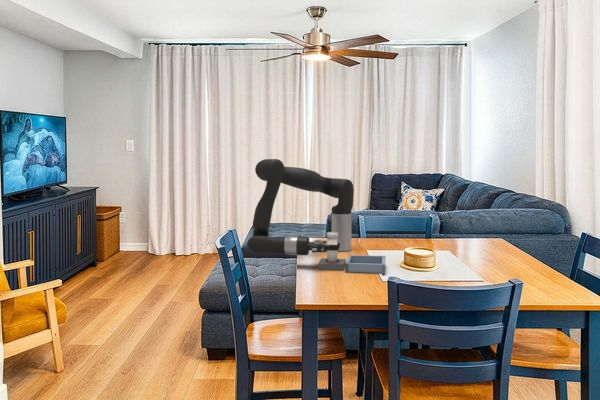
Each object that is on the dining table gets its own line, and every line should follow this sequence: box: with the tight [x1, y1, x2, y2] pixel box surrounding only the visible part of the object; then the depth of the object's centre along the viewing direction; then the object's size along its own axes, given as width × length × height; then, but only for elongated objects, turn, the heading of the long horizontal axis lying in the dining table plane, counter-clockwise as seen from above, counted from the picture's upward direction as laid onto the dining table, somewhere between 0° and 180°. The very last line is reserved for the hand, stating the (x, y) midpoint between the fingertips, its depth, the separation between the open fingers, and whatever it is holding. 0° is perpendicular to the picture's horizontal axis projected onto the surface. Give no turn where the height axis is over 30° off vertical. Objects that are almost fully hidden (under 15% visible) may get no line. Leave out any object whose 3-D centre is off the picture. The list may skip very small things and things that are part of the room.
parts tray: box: [344, 254, 386, 276], centre depth 228 cm, size 16×15×4 cm
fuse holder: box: [317, 257, 347, 272], centre depth 230 cm, size 10×10×3 cm
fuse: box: [326, 231, 338, 263], centre depth 230 cm, size 4×4×14 cm
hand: (339, 246), depth 229 cm, fingers closed on fuse, 4 cm apart
